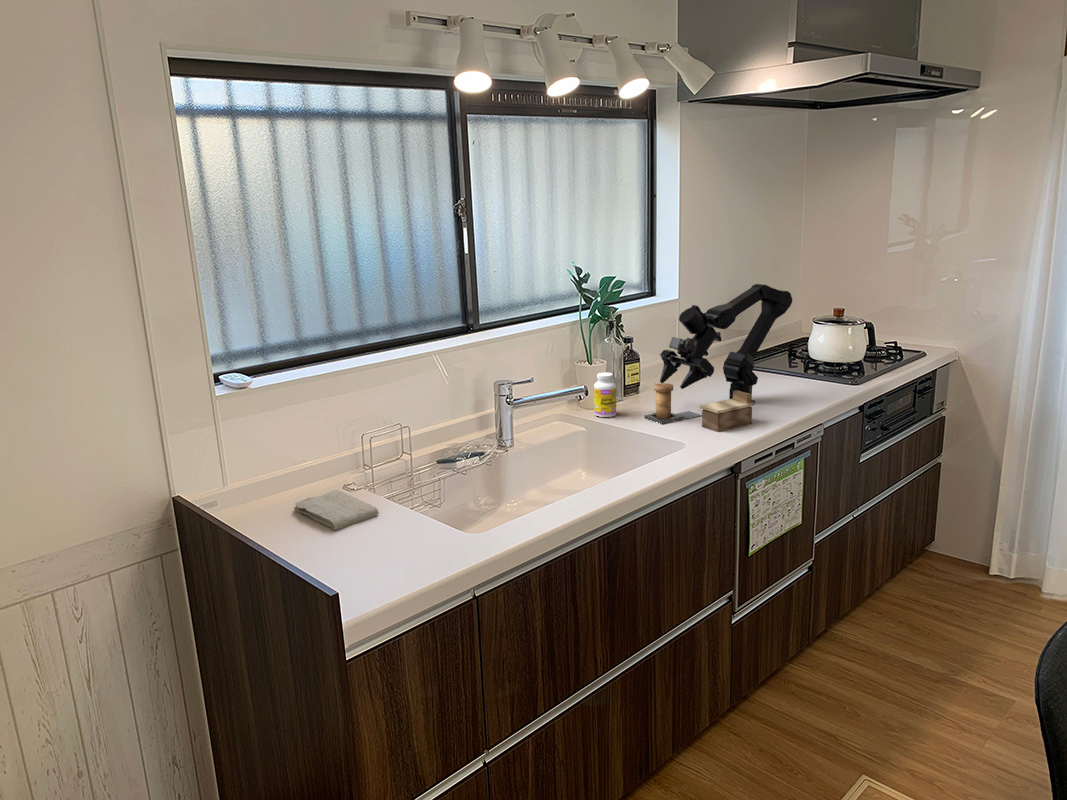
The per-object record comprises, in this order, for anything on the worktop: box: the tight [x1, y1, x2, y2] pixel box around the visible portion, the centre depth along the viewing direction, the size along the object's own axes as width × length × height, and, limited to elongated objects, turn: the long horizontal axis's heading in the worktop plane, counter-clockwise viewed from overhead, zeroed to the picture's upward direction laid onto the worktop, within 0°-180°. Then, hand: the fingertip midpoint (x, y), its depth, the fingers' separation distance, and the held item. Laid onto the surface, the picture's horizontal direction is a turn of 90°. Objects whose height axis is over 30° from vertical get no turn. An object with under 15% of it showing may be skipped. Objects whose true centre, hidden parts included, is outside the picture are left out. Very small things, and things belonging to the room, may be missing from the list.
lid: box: [699, 390, 755, 414], centre depth 235 cm, size 14×7×3 cm, turn 121°
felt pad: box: [676, 410, 702, 420], centre depth 248 cm, size 6×6×1 cm
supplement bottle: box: [593, 371, 617, 418], centre depth 250 cm, size 7×7×13 cm
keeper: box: [643, 412, 684, 425], centre depth 245 cm, size 8×8×1 cm
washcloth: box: [293, 489, 380, 531], centre depth 183 cm, size 12×18×3 cm, turn 46°
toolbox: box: [701, 406, 753, 433], centre depth 236 cm, size 13×6×5 cm, turn 121°
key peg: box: [653, 382, 674, 419], centre depth 244 cm, size 6×6×10 cm
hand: (670, 385), depth 244 cm, fingers open, 9 cm apart
